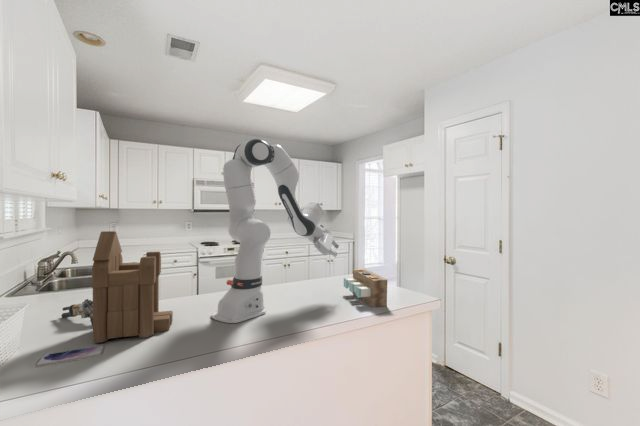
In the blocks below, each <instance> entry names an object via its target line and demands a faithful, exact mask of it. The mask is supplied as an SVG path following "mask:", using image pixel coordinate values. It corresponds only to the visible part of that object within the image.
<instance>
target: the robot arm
mask: <svg viewBox="0 0 640 426" xmlns="http://www.w3.org/2000/svg"><path fill="white" fill-rule="evenodd" d="M260 166H265V167H266V168H267V169H268V170H269V172H270V174H271V176H272V178H273V179H274V182H275V184H276V187H277V193H278V196H279V199H280V201H281V203H282V206H283V207H284V209H285V210H286V213H287V215H288V217H287V222H288V224H289V225H290V226H291V227H292V229H293V230H294V232H295V233H296V234H297V235H298V236H300V237H305V239H306V240H308V241H309V242H311V243H312V244H313V245H314V248H315V249H317V251H318V252H320V253H321V254H322V255H323V256H327V255H328V254H329V255H331V256H333V257H337V256H338V252H337V251H334V250H333V249H332V245H333V246H334V249H338V248H339V247H340V245H339V244H338V242H336V240H335V238H334V237H335V236H334V234H333V233H332V232H331V231H330V230H328V229H327V228H326V227H325V225H324V224H322V223H321V224H319V223H320V221H321V219H322V218H323V215H324V210H323V207H321V206H320V204H317V203H315V202H309V203H307V204H306V205H305V206H303V207H300V205H299V203H298V201H297V198H296V187H297V185H298V182H299V177H300V175H299V174H300V173H299V171H298V168H297V166H296V165H295V163H294V161H293V159H292V158H291V157H290V155H289V154H288V153H287V151H286V150H285V149H284V148H283V147H282V146H281V145H279V144H270V143H268V142H267V141H265V140H262V139H259V138H253V139H250V140H246V141H244V142H241V143H240V144H238V145H237V147H236V149H235V150H234V153H233V157H232V159H229V160H227V161H226V162H225V163H224V164H223V168H222V169H223V170H222V171H223V173H222V174H223V183H224V189H225V193H226V198H227V202H228V208H229V209H228V210H229V225H228V234H229V236H230V237H231V238H232V239H233V240H234V241H235V242H236V243H239V246H238V247H239V248H238V252H237V254H236V256H235V258H234V277H233V278H232V280H231V279H227V280H226V285H229V286H230V288H229V289H228V290H227V292H226V293H225V294H224V295H223V296H222V297H221V298H220V299H219V301H218V303H217V311H215V312H213V313H211V315H210V317H211V318H212V319H213V320H215V321H217V322H221V323H227V324H237V323H241V322H245V321H248V320H249V319H253V318H256V317H260V316H262V315H264V314H266V313H267V312H266V311H267V310H266V309H265V304H264V293H263V290H262V289H263V288H262V285H263V276H262V261H263V260H262V259H263V254H264V249H265V246H266V244H267V243H268V241H269V240H270V239H271V229H270V227H269V225H268V224H267V223H265V222H264V221H262V220H261V219H257V218H256V219H255V216H254V215H255V214H254V213H255V206H256V204H257V200H256V195H255V190H254V186H253V181H252V176H251V175H252V174H251V173H252V169H253V168H257V167H260Z"/></svg>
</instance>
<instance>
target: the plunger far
mask: <svg viewBox="0 0 640 426" xmlns="http://www.w3.org/2000/svg"><path fill="white" fill-rule="evenodd" d="M349 282H352V283H354V282H358V279H356V278H353V277H351V278H346V277H344V278H343V287H344V288H345V289H349Z"/></svg>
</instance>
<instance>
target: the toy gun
mask: <svg viewBox="0 0 640 426" xmlns="http://www.w3.org/2000/svg"><path fill="white" fill-rule="evenodd" d="M62 311H68V312H63V313H62V314H61V318H62V319H67V318H71V317H72V318H74V317H77V316H81V319H86V318H89V319H90V320H89V321H90V323H91V326H92V327H93V300H91V299H89V298H87V299H84V301H82V303H77V304H71V305H70V306H65V307H63V308H62Z"/></svg>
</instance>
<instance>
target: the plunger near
mask: <svg viewBox="0 0 640 426" xmlns="http://www.w3.org/2000/svg"><path fill="white" fill-rule="evenodd" d="M355 296H356V297H357V298H358V299H361V297H369V296H371V287H369V286H366V287H358V286H356V294H355Z"/></svg>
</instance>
